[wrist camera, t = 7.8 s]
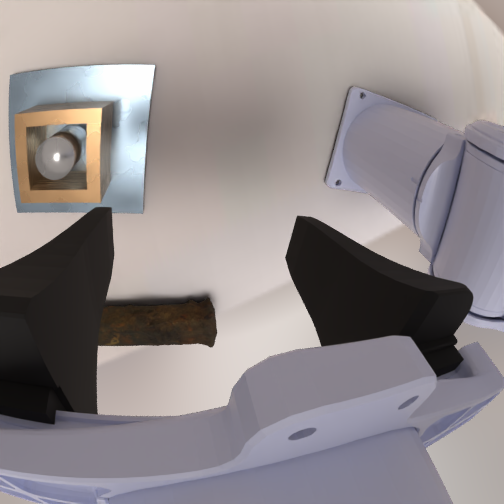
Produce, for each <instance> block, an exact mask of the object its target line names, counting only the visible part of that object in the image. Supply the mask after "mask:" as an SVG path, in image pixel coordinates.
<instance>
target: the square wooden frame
mask: <svg viewBox="0 0 504 504" xmlns="http://www.w3.org/2000/svg"><path fill="white" fill-rule="evenodd" d="M113 103H114V101H95V102H72V103H57V104H45V105H36V106H34V107H31V108H29V109H26V110H24V111H21V112H19V113H17V114H15V149H16V163H17V174H18V183H19V191H20V199H21V203H101V201H102V199H103V197H104V195H105V192H106V190H107V188H108V186H109V184H110V161H111V132H112V116H113ZM81 123H87V137H86V170H87V171H70V172H69V173H68V174H67V175H66V176H65V177H63V178H61V179H58V180H51V179H48V178H46V177H44V176H43V175H42V174H41V173H40V172H39V170H38V169H37V166H36V161H35V156H36V152H37V149H38V147H39V146H40V145H41V143H43V142H44V141H45V140H47V125H59V124H81Z"/></svg>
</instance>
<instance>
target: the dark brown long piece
mask: <svg viewBox="0 0 504 504" xmlns="http://www.w3.org/2000/svg"><path fill="white" fill-rule="evenodd" d="M216 335H217V329H216V318H215V309H214V308H213V305H212V303H211V301H210V299H209V298H207V299H206V300H204V301H202V302H200V303H197V302H196V301H194V300H191V299H190V300H188V302H187V303H185V304H178V305H157V306H133V305H130V304H129V305H127V306H124V307H122V306H108V307H104V309H103V313H102V317H101V322H100V328H99V337H98V346H135V345H136V346H139V345H153V346H154V345H157V346H158V345H174V344H175V345H183V344H197V343H199V344H204V345H207V346H209V347H213V346H214V343H215V338H216Z"/></svg>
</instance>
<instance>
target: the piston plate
mask: <svg viewBox="0 0 504 504" xmlns="http://www.w3.org/2000/svg"><path fill="white" fill-rule="evenodd" d="M155 66H156V65H92V66H76V67H64V68H55V69H46V70H38V71H31V72H25V73H19V74H13V75H10V85H9V142H10V158H11V169H12V179H13V187H14V195H15V201H16V208H17V213H24V212H87V213H88V212H89V211H91V210H92V209H94V208H95V207H112V213H141V214H143V210H144V181H145V162H146V147H147V135H148V124H149V113H150V104H151V96H152V88H153V80H154V73H155ZM95 101H114V103H113V116H112V132H111V161H110V184H109V186H108V188H107V190H106V192H105V195H104V197H103V199H102V201H101V203H21V199H20V191H19V183H18V174H17V163H16V149H15V114H17V113H19V112H21V111H24V110H26V109H29V108H31V107H34V106H36V105H45V104H57V103H72V102H95ZM86 137H87V123H81V124H59V125H47V140H45V141H44V142H43V143H41V145H40V146H39V147H38V149H37V152H36V156H35V161H36V166H37V169H38V170H39V172H40V173H41V174H42V175H43V176H44V177H46V178H48V179H51V180H58V179H61V178H63V177H65V176H66V175H67V174H68V173H69V172H70V171H87V170H86Z"/></svg>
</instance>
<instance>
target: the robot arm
mask: <svg viewBox="0 0 504 504" xmlns="http://www.w3.org/2000/svg"><path fill="white" fill-rule="evenodd" d="M360 93H363V97H362V98H360ZM337 180H339V183H338V184H336V181H337ZM325 183H326V185H327V186H328V187H330V188H335V189H342V190H349V191H355V192H362V193H368V194H370V195H371V196H372V197H373V198H375V199H376V200H377V201H378V202H379V203H381V204H382V205H383V206H384V207H385V208H386V209H388V210H389V211H390V212H391V213H392V214H393V215H395V216H396V217H397V218H398V219H399V220H400V221H401V222H403V223H404V224H405V225H406V226H407V227H408V228H409V229H410V230H412V231H413V232H414V233H415V234H416V235H417V236H418V237H419V238H420V241H421V244H420V249H419V252H420V253H421V254H422V255H423V256H424V257H425V258H426V259H427V260H428V261H429V262H430V263H431V264H430V266H429V269H428V274H425V273H422V272H419V271H416V270H413V269H411V268H408V267H406V266H403V265H400V264H398V263H396V262H393V261H391V260H389V259H387V258H385V257H383V256H381V255H378V254H377V253H375V252H373V251H371V250H369V249H367V248H366V247H364V246H362V245H360V244H358V243H357V242H355V241H353V240H352V239H350V238H348V237H347V236H345V235H343V234H342V233H340V232H338V231H337V230H335V229H333V228H332V227H330V226H328V225H327V224H325V223H323V222H321V221H319V220H317V219H315V218H312V217H306V216H297V218H296V222H295V225H294V229H293V233H292V236H291V240H290V243H289V247H288V250H287V254H286V257H285V258H286V262H287V265H288V269H289V272H290V275H291V278H292V280H293V282H294V284H295V286H296V288H297V290H298V292H299V294H300V296H301V298H302V300H303V302H304V304H305V307H306V309H307V311H308V313H309V315H310V317H311V318H312V321H313V323H314V326H315V328H316V331H317V334H318V337H319V340H320V343H321V346H322V347H314V348H306V349H297V350H293V351H289V352H286V353H281V354H277V355H274V356H270V357H268V358H266V359H265V360H263V361H261V362H259V363H258V364H256V365H254V366H252V367H251V368H249V369H247V370H246V371H245V373H244V374H243V375H242V376H241V378H240V379H239V381H238V382H237V383H236V384H235V386H234V387H233V389H232V392H231V396H230V399H229V403H228V405H227V406H223V407H219V408H214V409H210V410H205V411H201V412H196V413H191V414H186V415H180V416H116V415H98V413H97V387H96V386H97V385H96V384H97V382H96V380H97V377H96V375H97V350H98V337H99V328H100V322H101V317H102V313H103V309H104V304H105V300H106V296H107V292H108V288H109V284H110V280H111V275H112V268H113V260H114V243H113V226H112V207H95V208H94V209H92V210H91V211H89V212H88V213H87V214H86V215H84V216H83V217H82V218H81V219H79V220H78V221H77V222H75V223H74V224H73V225H72V226H70V227H69V228H68V229H66V230H65V231H64V232H62V233H61V234H59V235H58V236H57V237H55V238H54V239H53V240H51V241H50V242H48V243H47V244H45V245H44V246H42V247H40V248H39V249H37V250H35V251H34V252H32V253H30V254H29V255H27V256H25V257H23V258H21V259H19V260H17V261H15V262H13V263H11V264H9V265H7V266H4V267H2V268H0V491H1V492H4V493H7V494H9V495H12V496H15V497H19V498H22V499H25V500H29V501H32V502H35V503H39V504H453V502H452V500H451V498H450V496H449V494H448V492H447V490H446V488H445V486H444V484H443V482H442V480H441V478H440V476H439V474H438V472H437V470H436V468H435V466H434V464H433V462H432V460H431V458H430V456H429V454H428V452H427V450H426V447H428V446H430V445H432V444H433V443H435V442H436V441H438V440H440V439H441V438H443V437H445V436H446V435H448V434H449V433H451V432H452V431H454V430H456V429H457V428H459V427H460V426H462V425H463V424H465V423H466V422H468V421H469V420H471V419H472V418H473V417H474V416H475V415H476V414H478V413H479V412H480V411H481V410H482V409H483V408H484V407H485V406H487V405H488V404H489V403H490V402H491V401H492V400H493V399H494V398H495V397H496V396H497V395H498V394H499V393H500V392H501V391H502V390H503V389H504V377H503V376H502V374H501V373H500V371H499V370H498V369H497V367H496V366H495V364H494V363H493V362H492V360H491V359H490V358H489V356H488V355H487V354H486V352H485V351H484V349H483V348H482V347H481V346H480V344H479V343H478V342H474V343H472V344H469V345H466V346H464V347H462V348H461V349H460V350H457V349H456V348H455V346H454V345H455V344H456V343H457V339H456V337H455V336H454V333H455V332H456V330H457V329H458V328H459V326H460V325H461V323H462V322H464V323H467V324H470V325H472V326H476V327H481V328H490V329H496V330H499V331H502V332H504V126H501V125H498V124H495V123H492V122H489V121H485V120H477V121H475V122H473V123H472V124H468V125H466V128H465V133H463V132H461V131H459V130H456V129H454V128H452V127H449V126H447V125H445V124H442V123H440V122H438V121H437V120H436V119H435V118H433V117H431V116H429V115H426V114H424V113H422V112H420V111H417V110H415V109H413V108H411V107H408V106H406V105H404V104H401V103H399V102H396V101H394V100H391V99H389V98H386V97H383V96H381V95H378V94H375V93H373V92H370V91H367V90H364V89H361V88H358V87H352V88H351V89H350V90H349V93H348V97H347V101H346V105H345V109H344V113H343V117H342V121H341V125H340V128H339V132H338V136H337V140H336V143H335V147H334V151H333V154H332V158H331V162H330V165H329V169H328V172H327V176H326V179H325Z"/></svg>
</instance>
